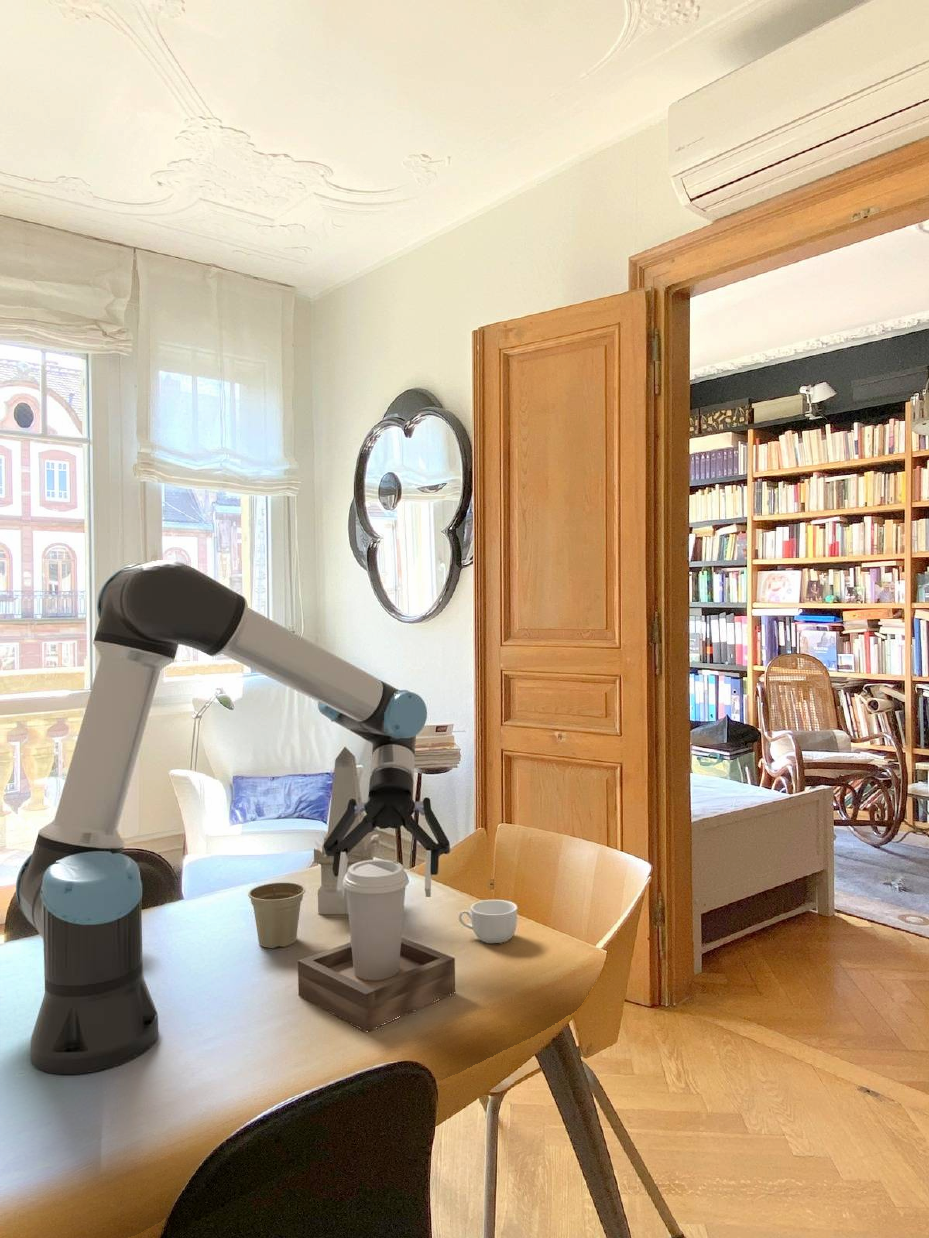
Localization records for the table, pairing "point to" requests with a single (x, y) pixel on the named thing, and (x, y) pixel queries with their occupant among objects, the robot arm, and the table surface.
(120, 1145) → the table surface
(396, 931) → the coffee cup
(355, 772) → the miniature monument
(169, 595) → the robot arm
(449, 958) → the walnut stand
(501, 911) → the teacup
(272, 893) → the flower pot
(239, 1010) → the table surface
